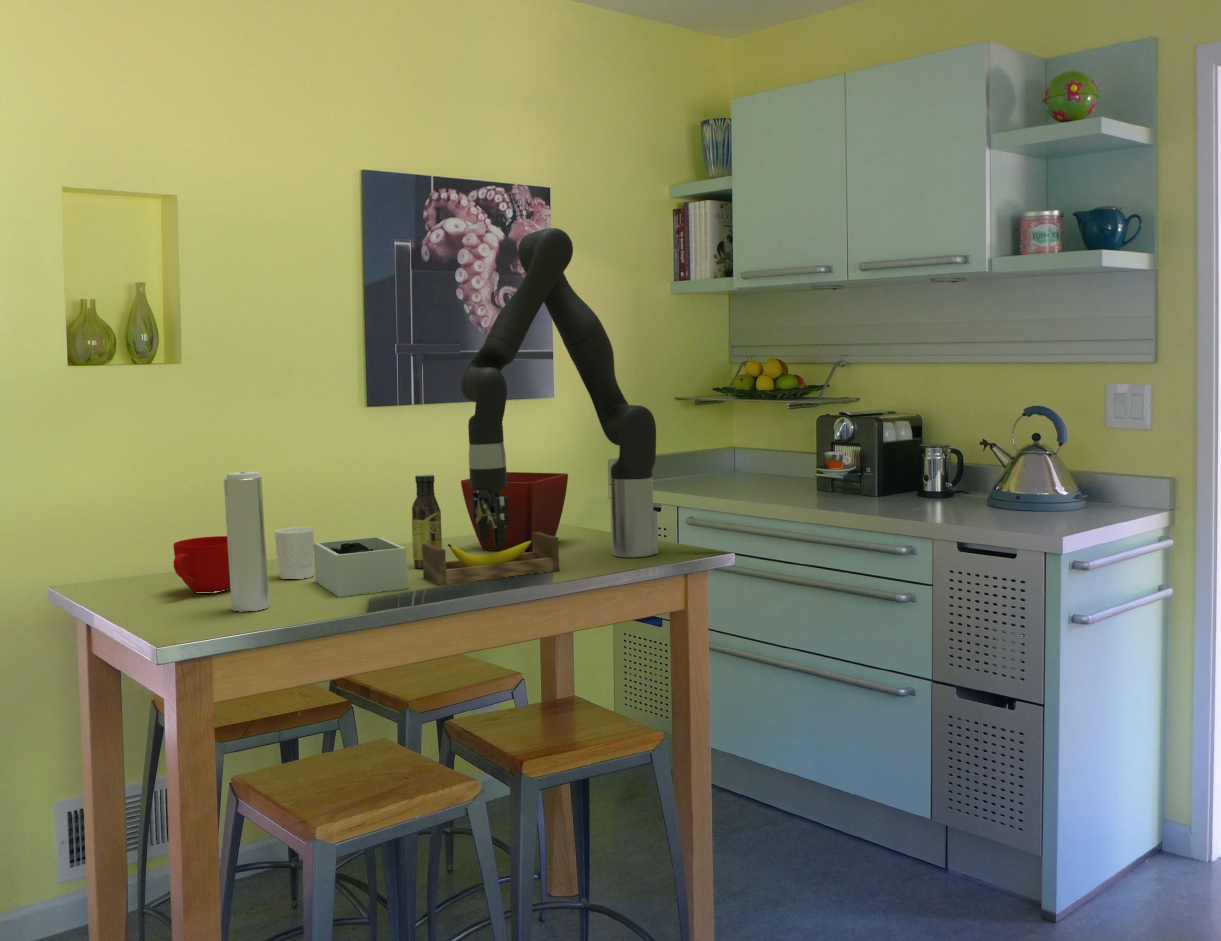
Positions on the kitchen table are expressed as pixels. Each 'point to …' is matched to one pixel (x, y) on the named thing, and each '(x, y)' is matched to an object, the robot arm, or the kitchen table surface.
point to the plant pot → (525, 507)
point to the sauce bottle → (425, 518)
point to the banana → (490, 556)
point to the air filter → (246, 541)
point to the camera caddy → (361, 567)
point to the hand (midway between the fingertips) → (491, 543)
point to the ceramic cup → (203, 563)
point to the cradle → (457, 572)
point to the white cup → (295, 552)
